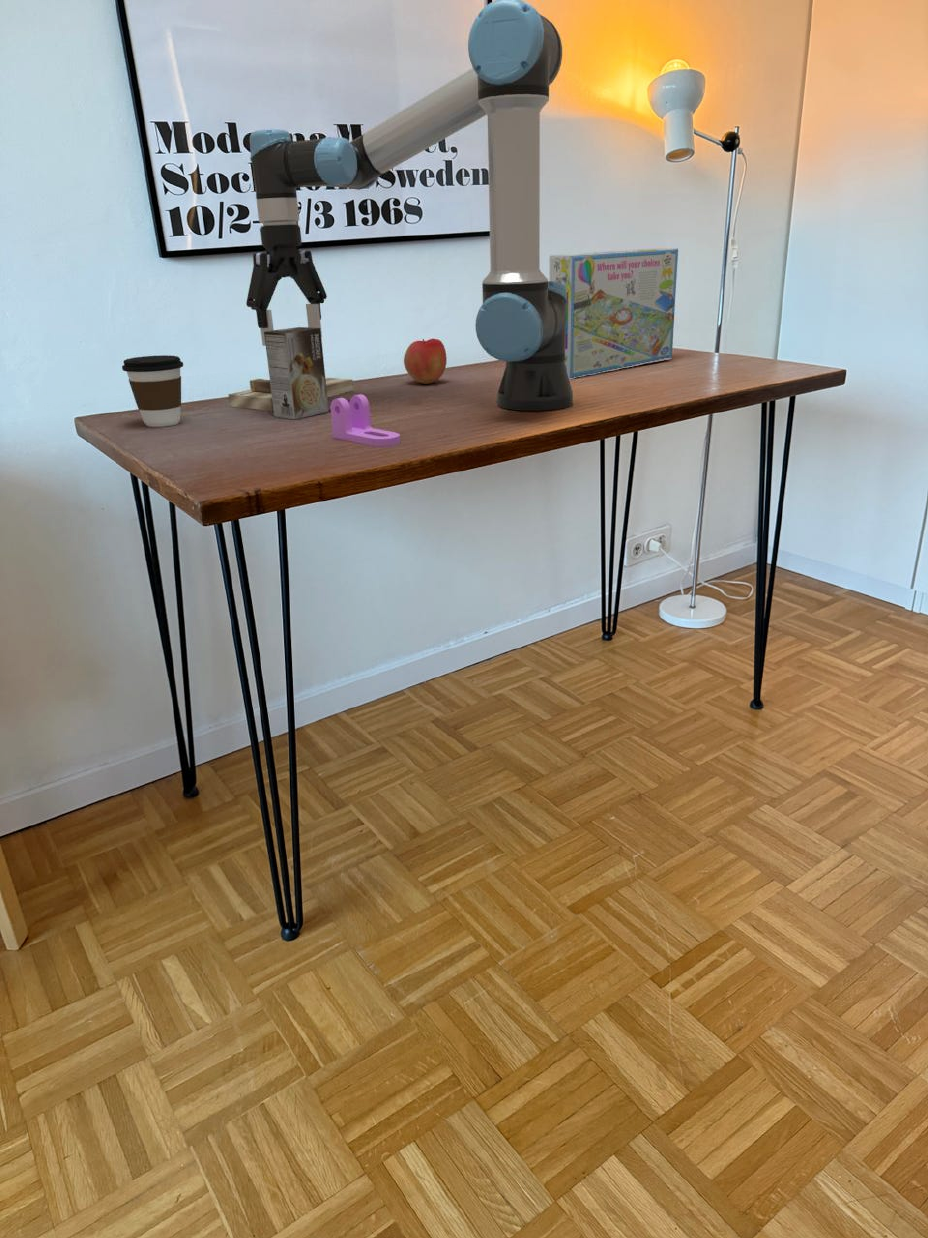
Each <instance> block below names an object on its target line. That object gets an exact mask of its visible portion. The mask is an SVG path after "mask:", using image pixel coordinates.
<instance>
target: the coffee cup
mask: <svg viewBox="0 0 928 1238" xmlns="http://www.w3.org/2000/svg"><path fill="white" fill-rule="evenodd" d="M182 367H184V362H183V361H181V358H180V357H179V356H178V355H167V354H166V355H147V356H145V355H144V356H138V357H136V356H135V357H131V358H130V357H129V358H127V359H124V360H123V365H121V368H122V369H121V370H122V371H123V372H126V374H127V376H128V377H127V378H128V383H129V386H130V389H131V391H132V395H133V397H134V400H135V403H136V406H137V408H138V410H139V412H140V415H141V418H142V421H143V422H144V424H145V426H146V427H150V428H162V427H163V428H164V427H169V426H170V427H171V426H175V425H178V424H180V420H181V406H182V376H181V368H182Z"/></svg>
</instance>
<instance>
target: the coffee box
mask: <svg viewBox="0 0 928 1238" xmlns="http://www.w3.org/2000/svg"><path fill="white" fill-rule="evenodd" d="M320 329H321V330H320ZM321 333H322V327H321V328H309V327H308V326H307V327H306V326H303V327H302V326H298V327H290V328H289V327H288V328H283V329H275V330H273V331H266V332H264V337H265V345H266V346H265V351H266V359H267V368H268V369H267V370H268V376H269V380H270V385H271V393H272V402H273V410H274V411H273V416H274V417H275V418H281V419H289V420H295V421H296V420H299V419H304V418H308V417H312V416H317V415H319V414H324V413H329V411H330V410H329V401H328V397H327V390H326V380H325V378H326V370H325V361H324V353H323V341H322V338H321Z"/></svg>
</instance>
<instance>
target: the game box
mask: <svg viewBox="0 0 928 1238" xmlns="http://www.w3.org/2000/svg"><path fill="white" fill-rule="evenodd" d="M678 259H679V248H678V247H669V248H668V247H666V248H665V247H664V248H663V247H662V248H661V247H660V248H659V247H658V248H646V249H645V248H640V249H628V250H627V249H626V250H625V249H624V250H613V251H612V250H611V251H610V250H609V251H596V252H595V251H594V252H581V253H579V252H578V253H570V254H569V253H568V254H567V253H566V254H553V255H549V281H555V282H560V283H562V284H564V286H565V288H566V297H567V304H566V337H565V367H566V371H567V374H568V377H569V378H574V377H578V376H582V375H588V374H593V373H598V372H603V371H607V370H612V369H617V368H622V367H627V366H632V365H636V364H640V363H645V362H650V361H655V360H659V359H664V358H670V357H672V358H673V348H674V345H673V343H674V325H675V310H676V309H675V308H676V291H677V290H676V288H677V279H678V278H677V275H678Z"/></svg>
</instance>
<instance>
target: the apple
mask: <svg viewBox="0 0 928 1238" xmlns="http://www.w3.org/2000/svg"><path fill="white" fill-rule="evenodd" d="M403 364H404V368H405V371H406V373H407V375H409V376H410V378H412V379H413V380H414V381H416V382H417V383H419V384H422V385H429V384H433V383H435V382H437V381H438V380H439V379H441V377H442V375H443V374H444V372H445V370H446V367H447V352H446V348H445V346H444V344H443V342H442V340H440V339H437V338H430V339H427V340H425V339H424V338H422V340H416V341H413V342H411V343H410V344H409V346H408V347H407V348H406V350H405V353H404V357H403Z"/></svg>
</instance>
